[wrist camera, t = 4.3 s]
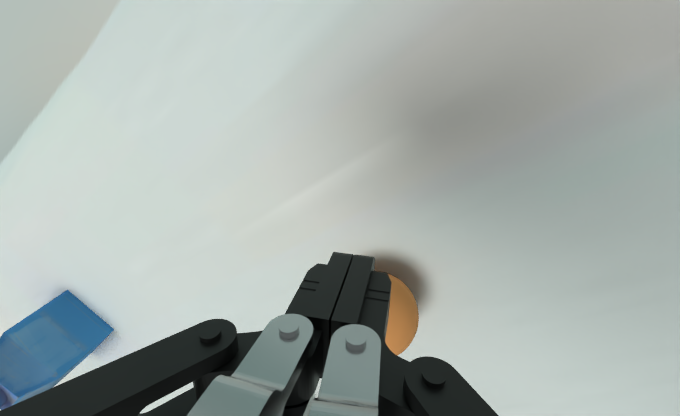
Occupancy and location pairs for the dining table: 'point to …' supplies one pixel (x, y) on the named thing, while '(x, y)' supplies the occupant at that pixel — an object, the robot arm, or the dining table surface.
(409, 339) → the ball
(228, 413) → the robot arm
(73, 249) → the dining table surface
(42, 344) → the perfume bottle
